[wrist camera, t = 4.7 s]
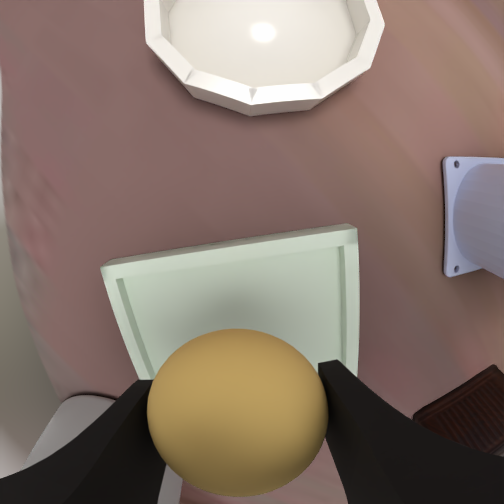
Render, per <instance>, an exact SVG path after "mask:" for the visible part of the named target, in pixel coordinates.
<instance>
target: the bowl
mask: <svg viewBox="0 0 504 504" xmlns="http://www.w3.org/2000/svg"><path fill="white" fill-rule="evenodd" d="M144 14H145V35H146V43H147V45H148V46H149V47H150V48H151V50H152V51H153V52H154V53H155V54H156V56H157V57H158V58H159V59H160V61H161V62H162V63H163V64H164V65H165V66H166V67H167V68H168V69H169V70H170V72H171V73H172V74H173V75H174V76H175V77H176V78H177V79H178V80H179V81H180V83H181V84H182V85H183V86H184V87H185V88H186V89H187V90H188V91H189V93H190V94H191V95H192V96H193V97H194V98H197V99H200V100H204V101H207V102H210V103H213V104H216V105H219V106H222V107H225V108H228V109H231V110H234V111H237V112H239V113H242V114H245V115H248V116H256V115H264V114H273V113H282V112H293V111H305V110H310V109H312V108H313V107H315V106H316V105H317V104H319V103H320V102H322V101H323V100H325V99H326V98H328V97H329V96H331V95H332V94H334V93H335V92H337V91H338V90H340V89H341V88H343V87H345V86H346V85H348V84H349V83H351V82H352V81H353V80H355V79H356V78H357V77H359V76H360V75H361V74H363V73H364V72H365V71H367V70H368V69H369V68H370V67H371V64H372V61H373V58H374V55H375V52H376V50H377V47H378V44H379V41H380V38H381V35H382V32H383V29H384V26H385V24H384V21H383V18H382V15H381V12H380V9H379V6H378V4H377V1H376V0H144Z"/></svg>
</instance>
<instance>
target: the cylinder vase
mask: <svg viewBox="0 0 504 504" xmlns="http://www.w3.org/2000/svg"><path fill="white" fill-rule="evenodd" d="M115 401H116V400H112V399H109V398H105V397H100V396H93V395H80V396H74V397H71V398H69V399H67V400H65V401H64V402H63V403H62V404H61V405H60V406H59V408H58V410H57V411H56V413H55V414H54V416H53V417H52V419H51V420H50V422H49V424H48V425H47V427H46V429H45V430H44V432H43V433H42V435H41V437H40V438H39V440H38V441H37V443H36V445H35V446H34V448H33V450H32V451H31V453H30V455H29V456H28V458H27V460H26V462H25V463H24V465H23V467H22V469H21V470H20V471H22V470H24V469H26V468H28V467H30V466H32V465H34V464H35V463H37V462H39V461H41V460H43V459H45V458H46V457H48V456H50V455H51V454H53V453H54V452H56V451H57V450H59V449H60V448H62V447H63V446H65V445H66V444H67V443H69V442H70V441H71V440H73V439H74V438H75V437H76V436H78V435H79V434H80V433H81V432H82V431H83V430H85V429H86V428H87V427H88V426H89V425H90V424H92V423H93V422H94V421H95V420H96V419H97V418H98V417H99V416H100V415H102V414H103V413H104V412H105V411H106V410H107V409H108V408H109V407H110V406H111V405H112V404H113V403H114V402H115ZM182 481H183V479H182V478H181V477H180V476H178V475H177V474H176V473H175V472H174V471H173V470H172V469H171V468H170V467H169V466H168V465H167V464H166V469H165V473H164V477H163V481H162V485H161V490H160V494H159V498H158V504H179V500H180V494H181V487H182Z"/></svg>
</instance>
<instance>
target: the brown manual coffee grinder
mask: <svg viewBox="0 0 504 504" xmlns="http://www.w3.org/2000/svg"><path fill="white" fill-rule="evenodd" d="M414 422H416V423H417V424H419V425H421V426H423V427H424V428H426V429H428V430H430V431H432V432H434V433H436V434H438V435H440V436H442V437H444V438H446V439H449V440H451V441H454V442H456V443H459V444H461V445H464V446H467V447H469V448H472V449H475V450H478V451H482V452H486V453H489V454H493V455H497V456H502V457H504V374H503V373H502V372H501V371H500V370H499V369H498V367H497V366H496V365H492V366H491V367H489V368H487V369H486V370H484V371H482V372H481V373H479V374H478V375H476V376H475V377H473V378H472V379H470V380H469V381H467V382H466V383H464V384H463V385H461V386H459V387H458V388H456V389H455V390H453V391H451V392H450V393H448V394H446V395H445V396H443V397H441V398H439V399H438V400H436V401H434V402H432V403H431V404H429V405H427V406H425V407H423V408H422V409H421V410H419V411H418V412H416V413H415V415H414Z"/></svg>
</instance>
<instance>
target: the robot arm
mask: <svg viewBox="0 0 504 504" xmlns="http://www.w3.org/2000/svg"><path fill="white" fill-rule="evenodd" d="M454 162H455V163H456V167H454ZM443 174H444V190H445V256H444V274H445V275H446V276H448V277H453V276H457V275H461V274H464V273H468V272H471V271H475V270H478V269H482V268H484V269H485V270H487V271H489V272H491V273H493V274H495V275H497V276H499V277H501V278H502V279H504V158H491V157H445V158H444V160H443ZM455 267H456V269H455V270H454V268H455ZM318 375H319V377H320V379H321V381H322V384H323V386H324V389H325V392H326V397H327V402H328V425H327V431H326V435H325V438H326V441H327V443H328V446H329V449H330V452H331V454H332V457H333V460H334V462H335V465H336V468H337V470H338V473H339V476H340V479H341V481H342V484H343V487H344V490H345V493H346V496H347V500H348V504H504V457H502V456H497V455H493V454H489V453H486V452H482V451H478V450H475V449H472V448H469V447H467V446H464V445H461V444H459V443H456V442H454V441H451V440H449V439H446V438H444V437H442V436H440V435H438V434H436V433H434V432H432V431H430V430H428V429H426V428H424V427H423V426H421V425H419V424H417V423H416V422H414V421H413V420H411V419H409V418H408V417H406V416H405V415H403V414H402V413H401V412H399V411H398V410H396V409H395V408H393V407H392V406H391V405H389V404H388V403H387V402H385V401H384V400H383V399H382V398H380V397H379V396H378V395H377V394H375V393H374V392H373V391H372V390H371V389H369V388H368V387H367V386H366V385H365V384H364V383H363V382H361V381H360V380H359V379H358V378H357V377H356V376H355V375H354V374H353V373H352V372H351V371H350V370H349V369H348V368H347V367H345V366H344V365H343V364H342V363H341V362H340V361H339V360H338V359H336V360H331V361H326V362H321V363H318ZM152 382H153V380H137V381H136V382H135V383H134V384H132V385H131V386H130V387H129V388H128V389H127V390H126V391H125V392H124V393H123V394H122V395H121V396H120V397H119V398H118V399H117V400H116V401H115V402H114V403H113V404H112V405H111V406H110V407H109V408H108V409H107V410H106V411H105V412H104V413H103V414H102V415H100V416H99V417H98V418H97V419H96V420H95V421H94V422H93V423H92V424H90V425H89V426H88V427H87V428H86V429H85V430H83V431H82V432H81V433H80V434H79V435H78V436H76V437H75V438H74V439H73V440H71V441H70V442H69V443H67V444H66V445H65V446H63V447H62V448H60V449H59V450H57V451H56V452H54V453H53V454H51V455H50V456H48V457H46V458H45V459H43V460H41V461H39V462H37V463H35V464H34V465H32V466H30V467H28V468H26V469H24V470H22V471H19V472H17V473H15V474H12V475H9V476H7V477H4V478H1V479H0V504H158V498H159V494H160V490H161V485H162V481H163V477H164V473H165V469H166V462H165V461H164V460H163V459H162V457H161V456H160V454H159V452H158V450H157V449H156V447H155V445H154V443H153V440H152V437H151V434H150V431H149V426H148V418H147V404H148V396H149V392H150V389H151V386H152Z"/></svg>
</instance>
